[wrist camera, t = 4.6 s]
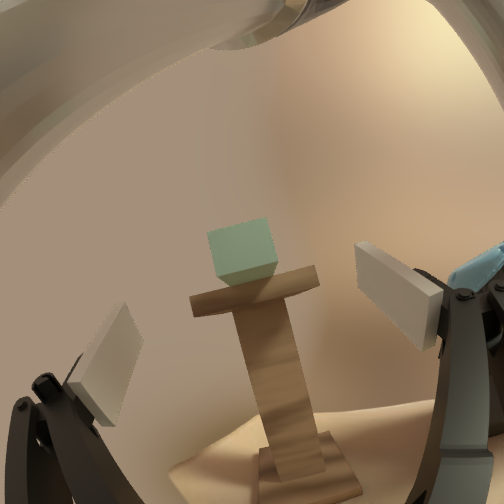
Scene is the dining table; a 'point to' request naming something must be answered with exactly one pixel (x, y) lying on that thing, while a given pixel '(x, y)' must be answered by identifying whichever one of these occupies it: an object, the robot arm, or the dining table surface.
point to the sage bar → (243, 252)
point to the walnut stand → (282, 393)
